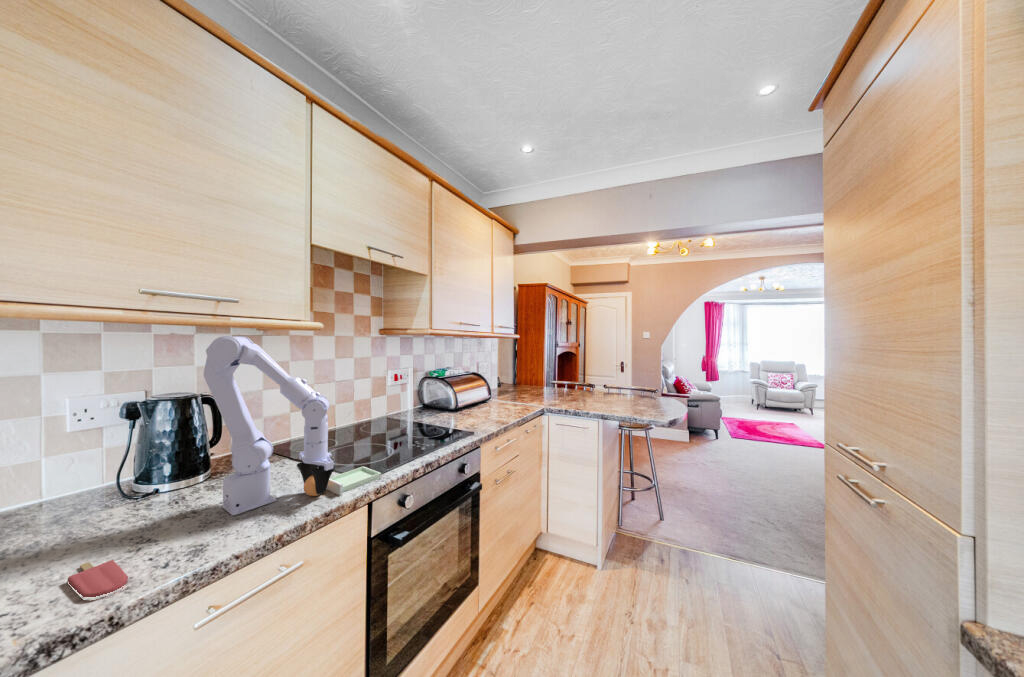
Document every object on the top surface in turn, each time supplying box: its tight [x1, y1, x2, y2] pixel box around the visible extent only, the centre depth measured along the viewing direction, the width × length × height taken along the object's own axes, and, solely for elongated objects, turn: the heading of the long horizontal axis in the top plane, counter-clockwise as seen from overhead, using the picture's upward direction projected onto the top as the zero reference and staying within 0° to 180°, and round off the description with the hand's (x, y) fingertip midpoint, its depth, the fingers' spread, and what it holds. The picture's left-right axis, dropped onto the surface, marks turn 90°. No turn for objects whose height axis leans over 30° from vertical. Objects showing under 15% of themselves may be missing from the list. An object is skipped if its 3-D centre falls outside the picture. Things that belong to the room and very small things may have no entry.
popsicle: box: [67, 560, 129, 597], centre depth 60 cm, size 5×2×15 cm
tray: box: [330, 466, 382, 493], centre depth 103 cm, size 12×9×2 cm
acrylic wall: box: [326, 478, 344, 496], centre depth 97 cm, size 1×12×3 cm, turn 57°
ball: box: [303, 475, 320, 497], centre depth 93 cm, size 6×6×6 cm
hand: (315, 489), depth 93 cm, fingers closed on ball, 6 cm apart
